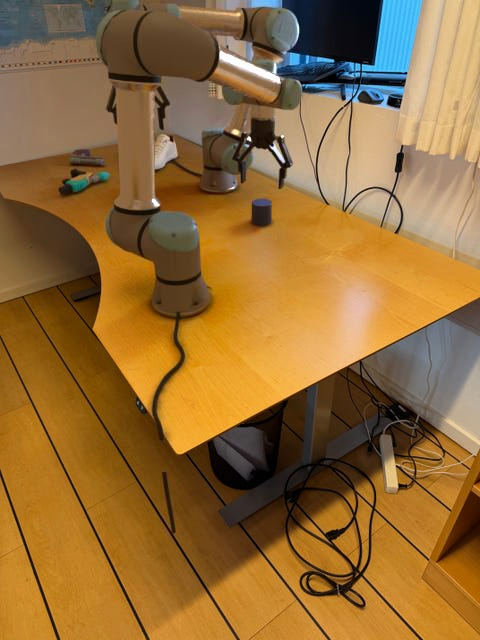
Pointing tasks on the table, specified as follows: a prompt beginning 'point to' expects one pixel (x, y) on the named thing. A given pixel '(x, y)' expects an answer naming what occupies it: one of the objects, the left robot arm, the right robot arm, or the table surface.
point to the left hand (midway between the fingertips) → (261, 185)
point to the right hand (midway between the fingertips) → (141, 131)
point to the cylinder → (261, 212)
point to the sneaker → (164, 150)
